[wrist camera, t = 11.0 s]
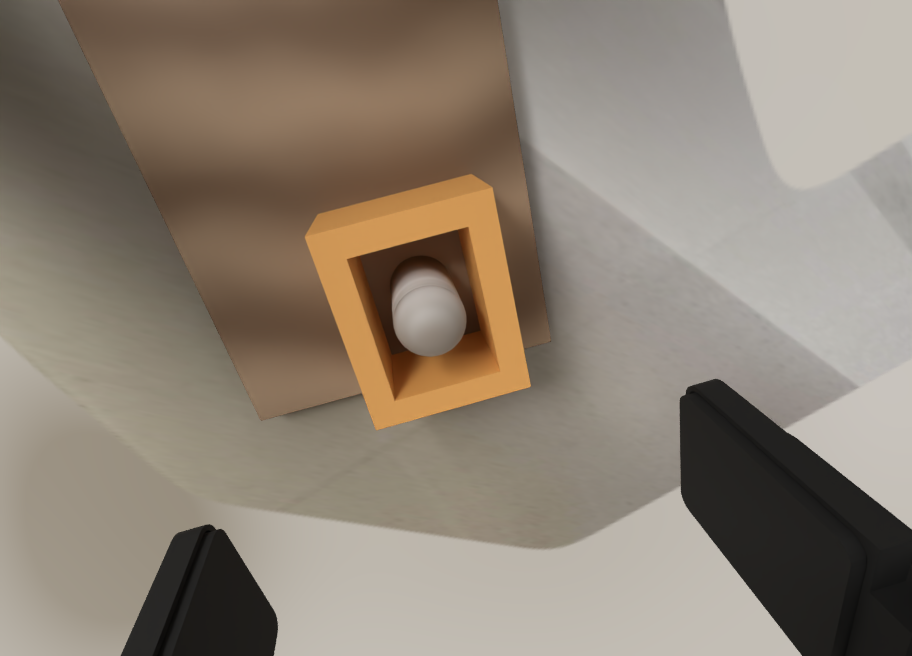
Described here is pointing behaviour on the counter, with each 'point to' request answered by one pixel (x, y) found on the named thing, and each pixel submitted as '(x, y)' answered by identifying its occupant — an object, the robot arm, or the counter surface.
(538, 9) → the counter surface
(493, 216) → the orange open tray
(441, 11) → the flat brown board
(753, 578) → the robot arm
